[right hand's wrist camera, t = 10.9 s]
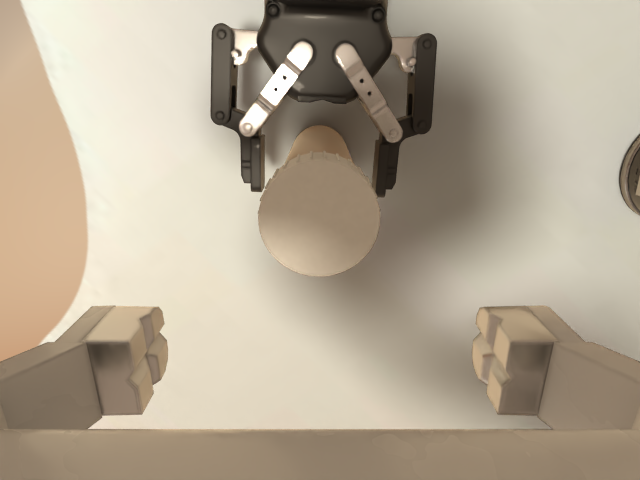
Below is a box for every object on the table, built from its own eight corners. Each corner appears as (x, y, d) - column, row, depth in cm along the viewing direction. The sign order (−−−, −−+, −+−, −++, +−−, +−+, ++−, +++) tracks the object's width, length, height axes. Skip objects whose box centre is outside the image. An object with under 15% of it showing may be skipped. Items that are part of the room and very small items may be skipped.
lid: (240, 200, 20) (230, 214, 18) (326, 125, 19) (327, 131, 17) (312, 278, 22) (311, 300, 20) (397, 213, 21) (406, 229, 18)
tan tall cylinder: (280, 150, 36) (244, 212, 19) (322, 113, 35) (326, 142, 18) (315, 191, 37) (313, 285, 20) (357, 157, 36) (393, 224, 19)
